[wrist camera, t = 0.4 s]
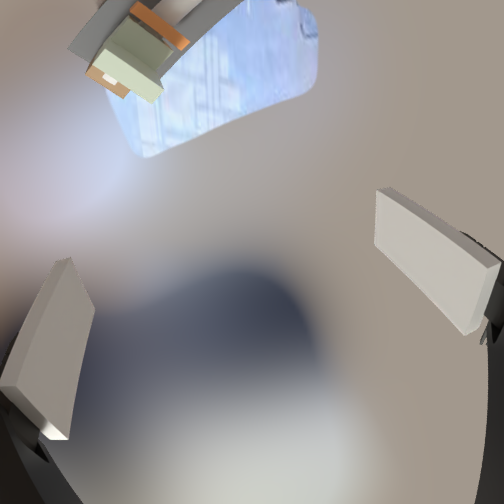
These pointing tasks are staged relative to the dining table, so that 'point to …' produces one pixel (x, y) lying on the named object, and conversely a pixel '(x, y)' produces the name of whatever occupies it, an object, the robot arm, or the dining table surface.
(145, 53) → the sleeve
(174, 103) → the dining table surface
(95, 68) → the rig
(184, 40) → the ring
